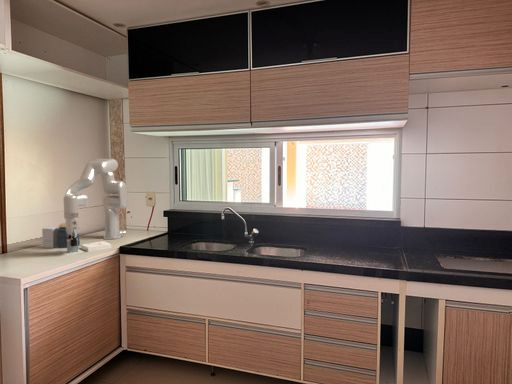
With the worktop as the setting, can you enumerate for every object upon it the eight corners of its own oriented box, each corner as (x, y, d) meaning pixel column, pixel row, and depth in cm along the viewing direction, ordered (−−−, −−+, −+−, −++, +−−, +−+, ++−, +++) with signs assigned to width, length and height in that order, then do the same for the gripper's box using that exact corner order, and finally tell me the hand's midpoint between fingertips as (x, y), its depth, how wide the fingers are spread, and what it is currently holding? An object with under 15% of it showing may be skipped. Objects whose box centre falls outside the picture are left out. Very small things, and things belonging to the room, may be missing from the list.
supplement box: (60, 245, 229) (60, 226, 229) (53, 248, 222) (52, 228, 221) (50, 245, 230) (49, 226, 229) (42, 247, 223) (41, 228, 222)
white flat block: (103, 245, 228) (103, 241, 228) (111, 248, 220) (111, 244, 220) (81, 249, 218) (81, 244, 218) (88, 252, 210) (88, 247, 210)
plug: (76, 250, 212) (75, 238, 212) (78, 251, 210) (77, 238, 209) (67, 252, 209) (66, 239, 208) (69, 253, 206) (68, 240, 206)
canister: (68, 249, 218) (67, 221, 217) (52, 248, 222) (51, 221, 221) (84, 245, 230) (83, 219, 229) (69, 243, 234) (68, 218, 233)
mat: (78, 250, 216) (78, 249, 216) (84, 252, 209) (84, 251, 209) (61, 252, 209) (61, 252, 209) (66, 255, 202) (66, 254, 202)
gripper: (82, 216, 204) (83, 246, 206) (73, 213, 216) (74, 242, 218) (69, 217, 199) (70, 248, 200) (60, 214, 211) (61, 244, 212)
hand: (72, 244), depth 209 cm, fingers open, 5 cm apart
